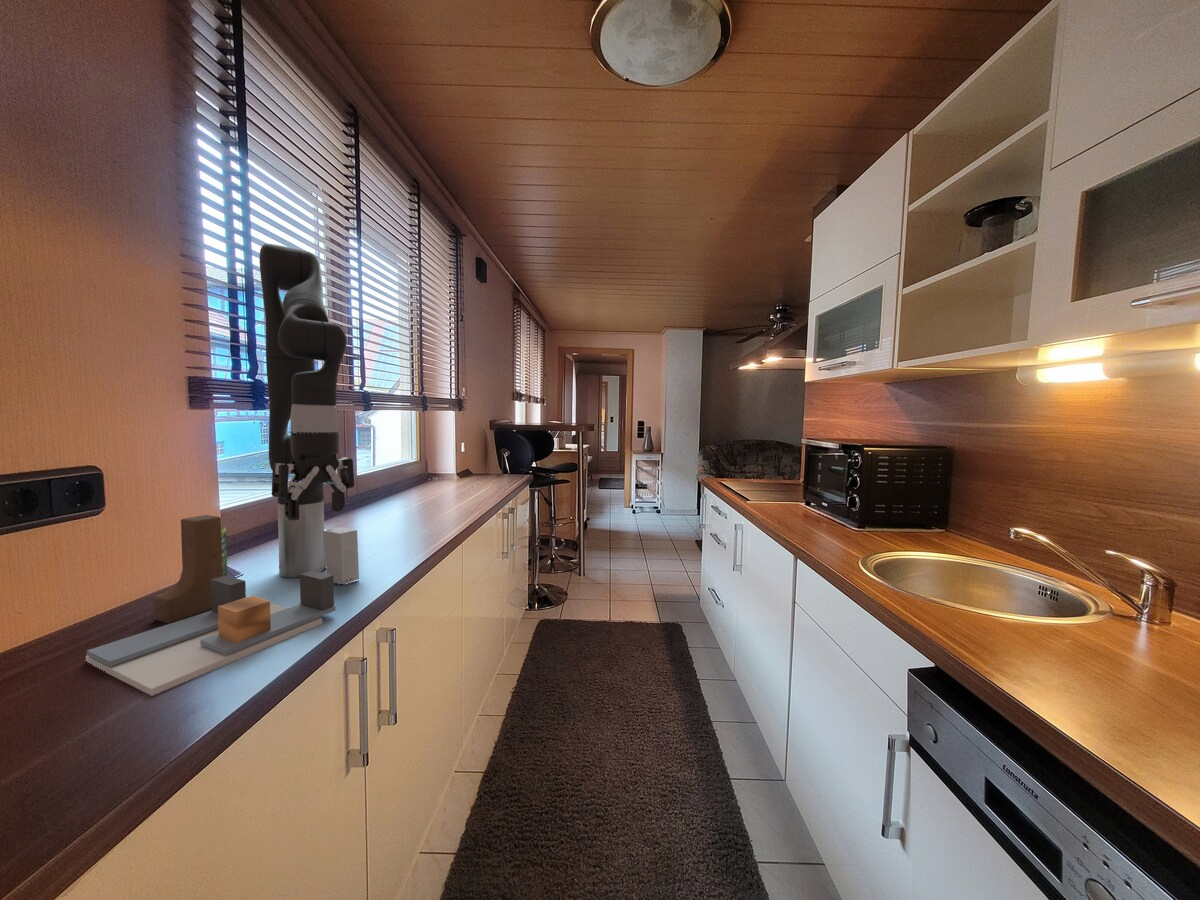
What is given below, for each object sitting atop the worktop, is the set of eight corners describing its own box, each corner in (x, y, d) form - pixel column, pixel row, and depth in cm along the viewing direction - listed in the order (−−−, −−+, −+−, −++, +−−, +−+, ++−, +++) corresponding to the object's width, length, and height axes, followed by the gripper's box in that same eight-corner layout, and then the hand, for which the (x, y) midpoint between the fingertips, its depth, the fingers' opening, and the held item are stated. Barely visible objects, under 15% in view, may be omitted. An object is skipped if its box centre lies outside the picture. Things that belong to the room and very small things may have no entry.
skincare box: (360, 580, 104) (359, 529, 103) (341, 586, 100) (340, 533, 99) (343, 575, 107) (342, 526, 106) (324, 581, 103) (323, 529, 102)
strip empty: (225, 610, 84) (224, 574, 84) (247, 617, 81) (247, 581, 81) (87, 655, 68) (84, 611, 67) (109, 666, 65) (107, 621, 64)
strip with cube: (311, 603, 88) (310, 569, 88) (335, 610, 85) (335, 575, 85) (200, 644, 72) (199, 603, 71) (226, 655, 69) (225, 612, 68)
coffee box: (218, 596, 93) (216, 534, 92) (200, 599, 92) (198, 536, 91) (228, 583, 100) (227, 526, 99) (212, 585, 99) (210, 527, 98)
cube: (252, 623, 78) (251, 595, 77) (270, 629, 76) (270, 600, 75) (218, 636, 73) (217, 606, 73) (237, 642, 71) (236, 612, 71)
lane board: (258, 604, 90) (258, 599, 90) (322, 623, 83) (322, 618, 82) (86, 662, 68) (85, 656, 68) (151, 696, 60) (151, 688, 60)
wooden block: (167, 624, 80) (164, 526, 79) (152, 620, 82) (149, 523, 81) (224, 605, 89) (221, 516, 88) (209, 601, 90) (207, 514, 89)
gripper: (336, 428, 91) (337, 506, 92) (260, 429, 78) (263, 520, 79) (362, 429, 88) (363, 510, 90) (288, 431, 75) (290, 525, 76)
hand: (316, 515), depth 84 cm, fingers open, 8 cm apart
